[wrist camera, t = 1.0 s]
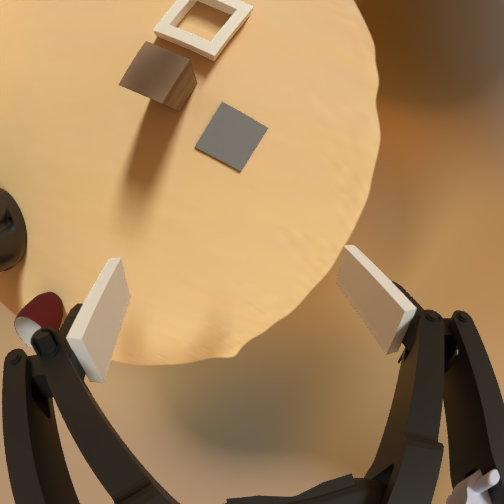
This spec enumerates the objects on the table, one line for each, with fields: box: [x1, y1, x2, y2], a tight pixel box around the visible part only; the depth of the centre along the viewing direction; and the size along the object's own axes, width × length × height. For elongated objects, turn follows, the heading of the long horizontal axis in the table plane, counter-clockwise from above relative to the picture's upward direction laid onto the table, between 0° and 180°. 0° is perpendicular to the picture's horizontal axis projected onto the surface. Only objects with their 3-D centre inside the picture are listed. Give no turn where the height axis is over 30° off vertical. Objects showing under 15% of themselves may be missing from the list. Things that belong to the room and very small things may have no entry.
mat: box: [195, 102, 268, 172], centre depth 33 cm, size 7×7×1 cm
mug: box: [14, 292, 63, 350], centre depth 36 cm, size 10×8×10 cm
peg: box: [119, 41, 197, 112], centre depth 23 cm, size 4×4×14 cm
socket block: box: [153, 0, 254, 61], centre depth 24 cm, size 9×9×3 cm
